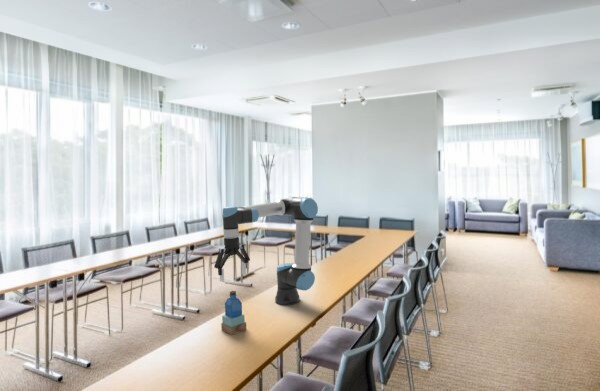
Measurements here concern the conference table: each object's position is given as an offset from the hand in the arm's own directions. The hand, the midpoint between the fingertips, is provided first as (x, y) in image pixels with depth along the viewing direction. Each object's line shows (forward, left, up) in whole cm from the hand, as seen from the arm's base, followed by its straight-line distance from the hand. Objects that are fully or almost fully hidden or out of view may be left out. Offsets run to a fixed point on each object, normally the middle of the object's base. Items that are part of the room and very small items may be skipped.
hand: (233, 278), depth 187 cm
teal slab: (+1, 0, -23) cm, 23 cm away
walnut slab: (+1, 0, -27) cm, 27 cm away
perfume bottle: (+1, 0, -19) cm, 19 cm away
